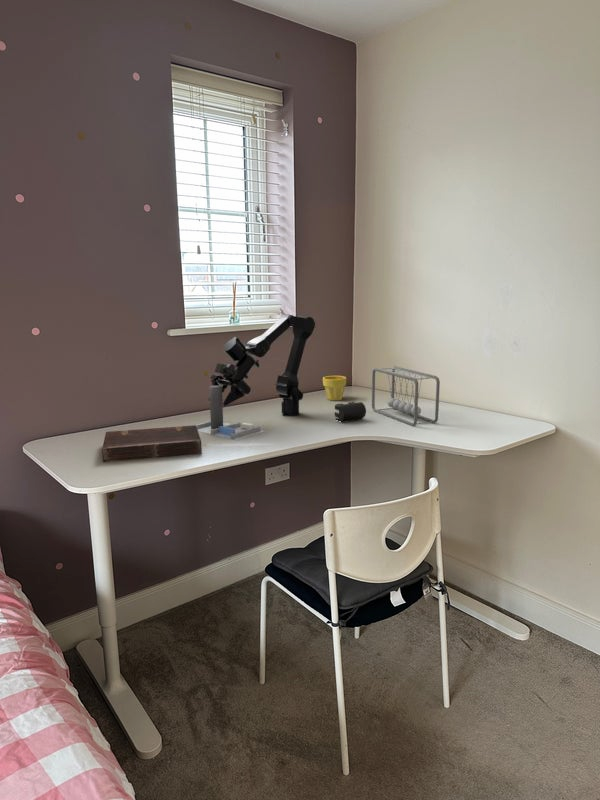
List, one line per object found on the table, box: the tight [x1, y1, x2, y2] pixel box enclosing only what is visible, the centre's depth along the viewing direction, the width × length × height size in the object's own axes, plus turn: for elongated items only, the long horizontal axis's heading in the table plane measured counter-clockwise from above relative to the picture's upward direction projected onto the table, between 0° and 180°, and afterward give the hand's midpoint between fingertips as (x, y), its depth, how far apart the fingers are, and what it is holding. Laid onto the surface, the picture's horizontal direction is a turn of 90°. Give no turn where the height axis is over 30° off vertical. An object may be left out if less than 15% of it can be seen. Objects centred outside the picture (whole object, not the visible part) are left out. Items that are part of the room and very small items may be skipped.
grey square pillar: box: [208, 385, 224, 429], centre depth 203 cm, size 4×4×15 cm
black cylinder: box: [334, 401, 367, 423], centre depth 216 cm, size 10×7×7 cm
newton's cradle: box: [371, 366, 441, 427], centre depth 220 cm, size 30×10×18 cm, turn 25°
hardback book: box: [101, 424, 203, 463], centre depth 181 cm, size 29×19×5 cm, turn 105°
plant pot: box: [322, 375, 347, 401], centre depth 254 cm, size 10×10×10 cm
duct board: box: [195, 420, 265, 441], centre depth 202 cm, size 24×14×3 cm, turn 52°
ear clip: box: [241, 422, 254, 429], centre depth 203 cm, size 4×2×1 cm, turn 52°
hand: (216, 403), depth 203 cm, fingers open, 9 cm apart
